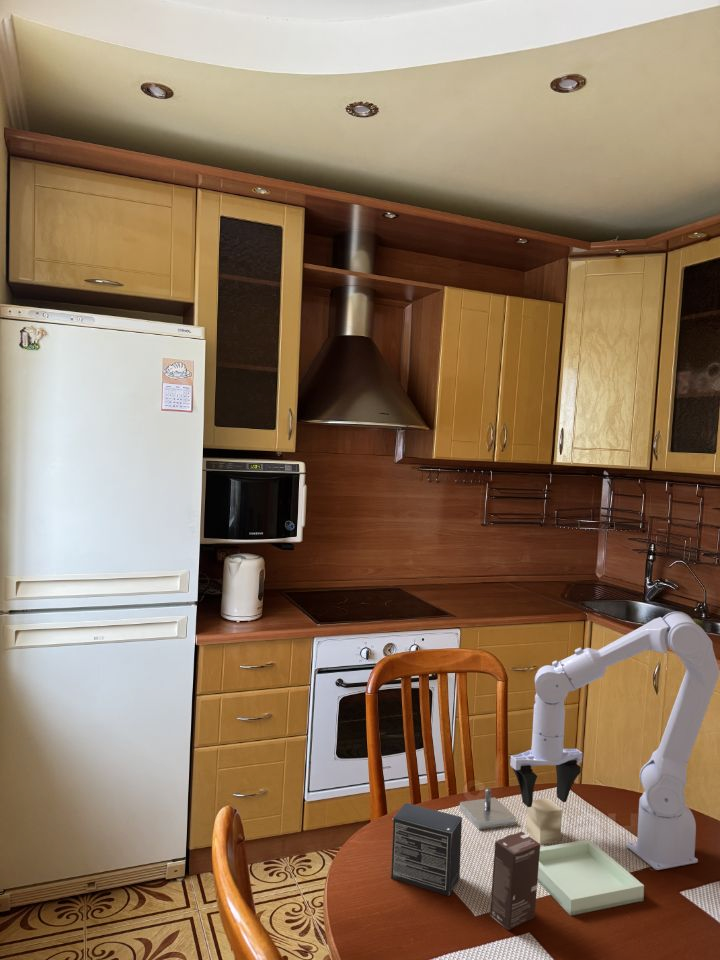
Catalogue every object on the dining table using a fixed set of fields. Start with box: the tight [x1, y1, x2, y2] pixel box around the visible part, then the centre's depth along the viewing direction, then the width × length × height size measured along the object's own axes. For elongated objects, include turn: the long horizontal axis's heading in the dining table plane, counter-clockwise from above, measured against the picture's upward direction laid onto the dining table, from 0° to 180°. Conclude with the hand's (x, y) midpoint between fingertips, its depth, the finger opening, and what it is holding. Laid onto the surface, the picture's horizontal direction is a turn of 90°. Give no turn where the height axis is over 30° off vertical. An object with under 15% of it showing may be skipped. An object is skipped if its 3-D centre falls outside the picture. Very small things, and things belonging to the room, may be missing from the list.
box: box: [489, 831, 541, 931], centre depth 106 cm, size 6×4×12 cm
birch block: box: [525, 797, 563, 845], centre depth 130 cm, size 4×4×6 cm
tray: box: [537, 839, 645, 916], centre depth 116 cm, size 14×14×2 cm
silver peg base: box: [459, 787, 517, 831], centre depth 136 cm, size 8×8×6 cm
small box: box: [390, 802, 463, 897], centre depth 115 cm, size 11×6×10 cm, turn 65°
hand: (544, 802), depth 129 cm, fingers open, 7 cm apart
